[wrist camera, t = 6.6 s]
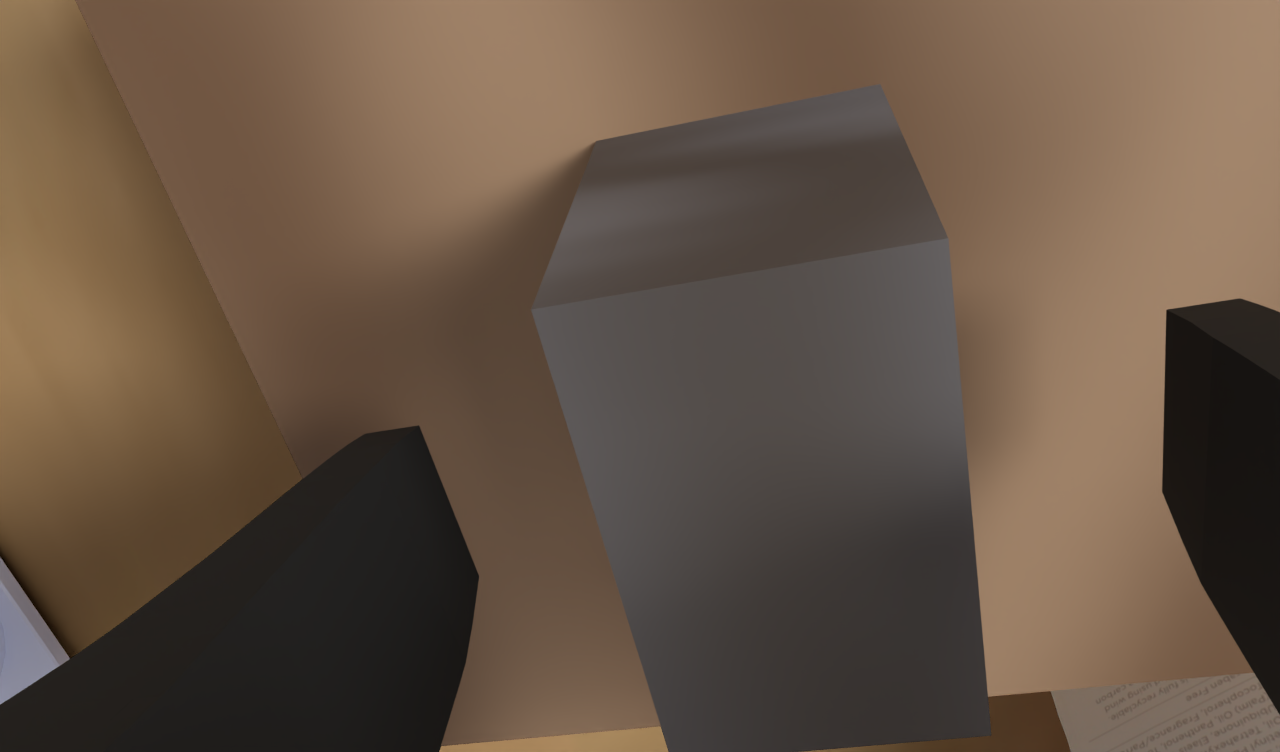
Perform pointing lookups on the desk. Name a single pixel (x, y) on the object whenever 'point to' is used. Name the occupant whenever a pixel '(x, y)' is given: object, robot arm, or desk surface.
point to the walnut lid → (742, 325)
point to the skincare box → (1171, 716)
